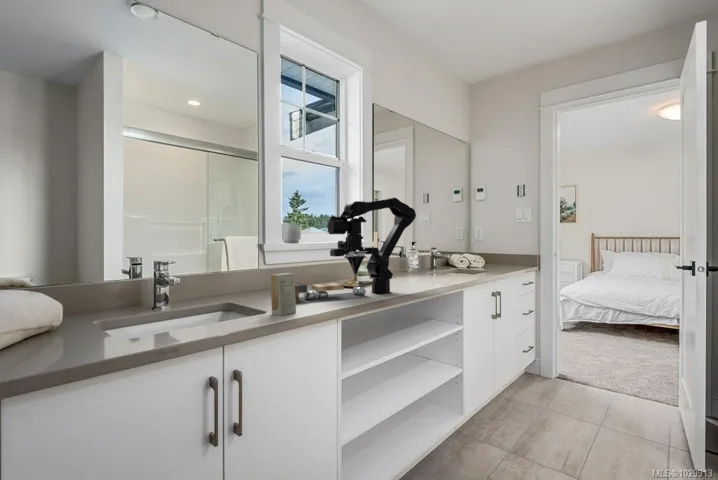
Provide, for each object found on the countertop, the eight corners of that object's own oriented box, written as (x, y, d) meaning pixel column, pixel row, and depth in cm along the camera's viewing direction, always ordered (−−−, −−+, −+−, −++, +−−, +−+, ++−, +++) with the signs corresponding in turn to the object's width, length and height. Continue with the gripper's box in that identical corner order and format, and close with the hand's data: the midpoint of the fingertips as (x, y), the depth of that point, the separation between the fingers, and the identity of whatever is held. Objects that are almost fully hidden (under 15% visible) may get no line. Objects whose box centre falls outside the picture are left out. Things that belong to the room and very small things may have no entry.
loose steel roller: (310, 298, 141) (311, 290, 142) (315, 300, 136) (316, 292, 136) (303, 298, 140) (303, 290, 140) (307, 300, 135) (308, 291, 135)
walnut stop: (299, 299, 142) (299, 282, 142) (307, 302, 133) (306, 284, 133) (283, 300, 139) (283, 283, 139) (290, 304, 130) (290, 286, 130)
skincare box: (288, 311, 118) (287, 272, 118) (296, 313, 115) (295, 273, 115) (270, 314, 113) (269, 274, 113) (278, 316, 110) (277, 274, 110)
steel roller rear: (356, 295, 149) (360, 289, 150) (362, 297, 144) (367, 291, 145) (350, 290, 148) (355, 285, 149) (357, 292, 143) (362, 286, 144)
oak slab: (336, 287, 147) (336, 283, 147) (343, 289, 140) (343, 285, 140) (311, 288, 143) (311, 284, 143) (318, 291, 135) (318, 287, 135)
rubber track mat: (354, 293, 154) (354, 292, 154) (371, 298, 140) (371, 297, 140) (282, 299, 142) (282, 298, 142) (292, 305, 127) (292, 304, 127)
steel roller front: (322, 297, 143) (323, 289, 144) (327, 299, 138) (328, 291, 138) (315, 297, 142) (315, 289, 142) (320, 299, 137) (320, 291, 137)
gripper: (366, 234, 157) (367, 271, 157) (324, 234, 149) (325, 274, 149) (379, 233, 147) (380, 273, 147) (334, 234, 139) (335, 276, 139)
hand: (355, 274), depth 146 cm, fingers closed
